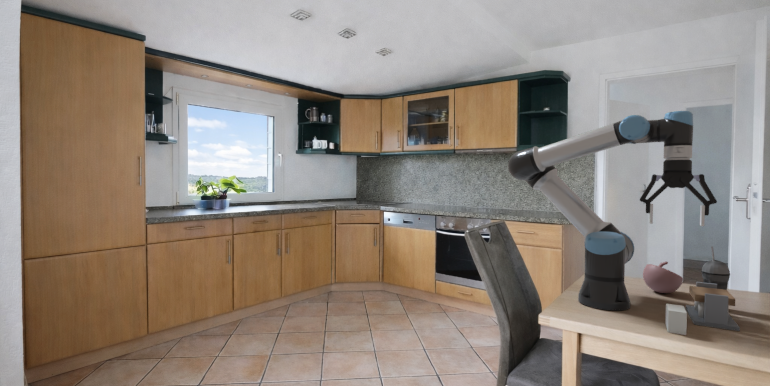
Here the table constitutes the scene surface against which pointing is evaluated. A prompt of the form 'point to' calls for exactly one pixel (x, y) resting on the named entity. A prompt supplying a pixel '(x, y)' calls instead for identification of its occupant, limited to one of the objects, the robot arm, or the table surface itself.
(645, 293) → the table surface
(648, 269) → the mortar and pestle
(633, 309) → the table surface
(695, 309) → the cradle
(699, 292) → the board
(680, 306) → the grey rectangular block
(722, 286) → the beverage cup
